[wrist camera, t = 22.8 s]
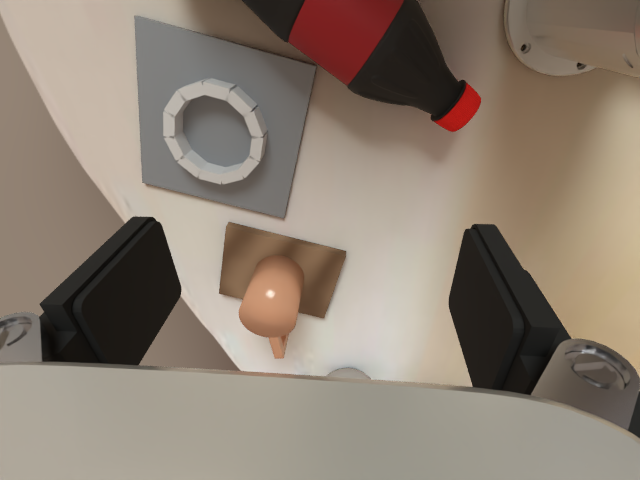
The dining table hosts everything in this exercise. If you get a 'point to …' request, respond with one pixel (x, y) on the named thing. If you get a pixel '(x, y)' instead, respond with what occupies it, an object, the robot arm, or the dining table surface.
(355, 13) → the cola bottle
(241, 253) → the walnut board
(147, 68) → the squash holder
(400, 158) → the dining table surface
